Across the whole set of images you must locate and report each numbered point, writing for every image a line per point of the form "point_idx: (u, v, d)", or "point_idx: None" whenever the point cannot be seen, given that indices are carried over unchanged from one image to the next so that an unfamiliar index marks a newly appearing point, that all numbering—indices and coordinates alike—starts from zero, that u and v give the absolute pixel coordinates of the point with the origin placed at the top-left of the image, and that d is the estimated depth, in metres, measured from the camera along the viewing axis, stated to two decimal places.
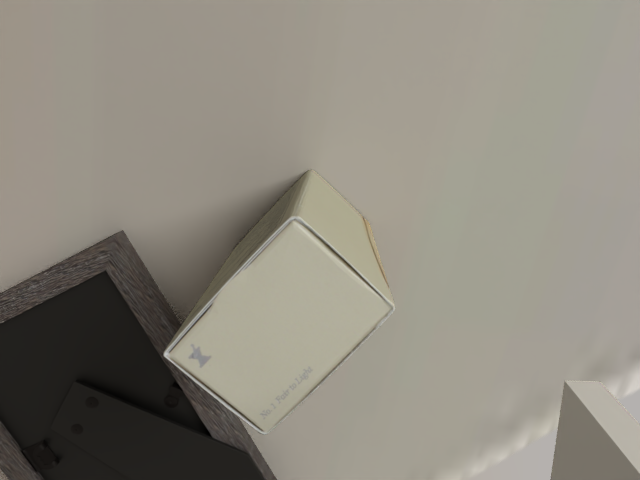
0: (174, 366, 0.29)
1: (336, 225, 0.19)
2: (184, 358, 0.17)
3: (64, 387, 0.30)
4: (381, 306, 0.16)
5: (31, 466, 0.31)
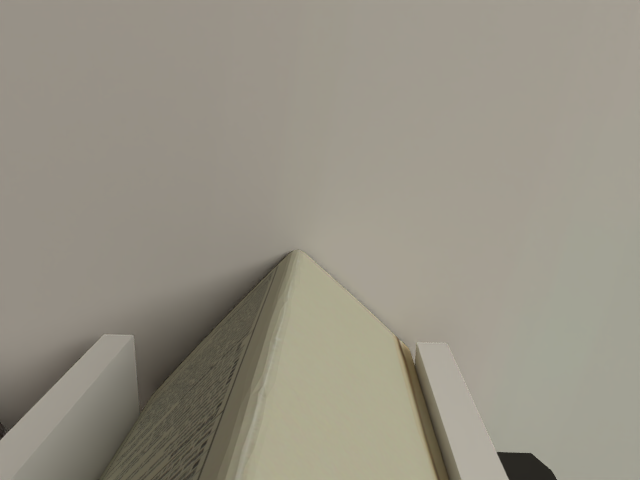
0: None
1: None
2: None
3: None
4: None
5: None
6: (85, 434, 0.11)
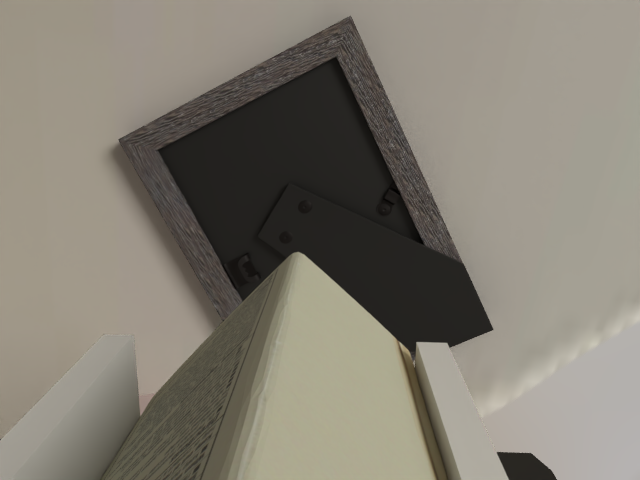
0: (395, 166, 0.28)
1: None
2: None
3: (274, 193, 0.29)
4: None
5: (231, 281, 0.30)
6: (85, 434, 0.11)
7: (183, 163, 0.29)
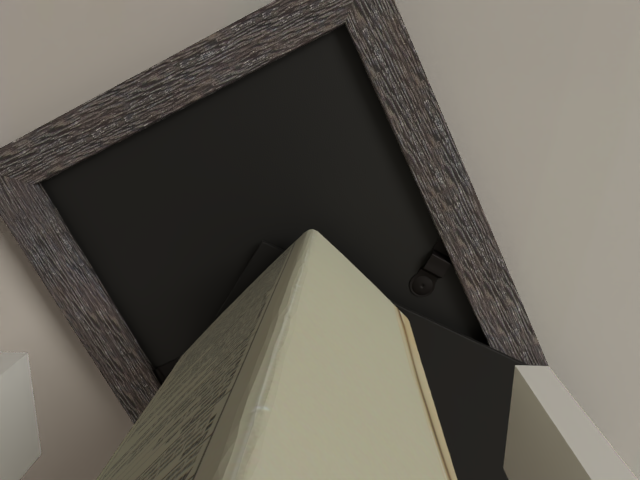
0: (445, 216, 0.16)
1: (358, 411, 0.08)
2: None
3: (238, 256, 0.17)
4: None
5: None
6: None
7: (83, 206, 0.17)
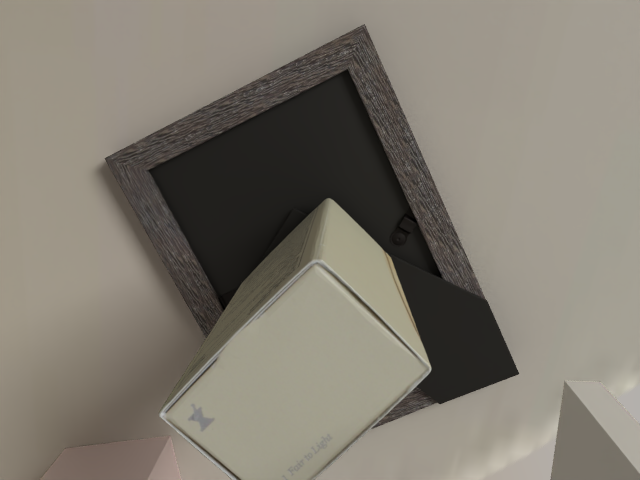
0: (412, 191, 0.25)
1: (360, 266, 0.17)
2: (182, 420, 0.14)
3: (277, 219, 0.26)
4: (415, 366, 0.14)
5: None
6: None
7: (176, 185, 0.26)
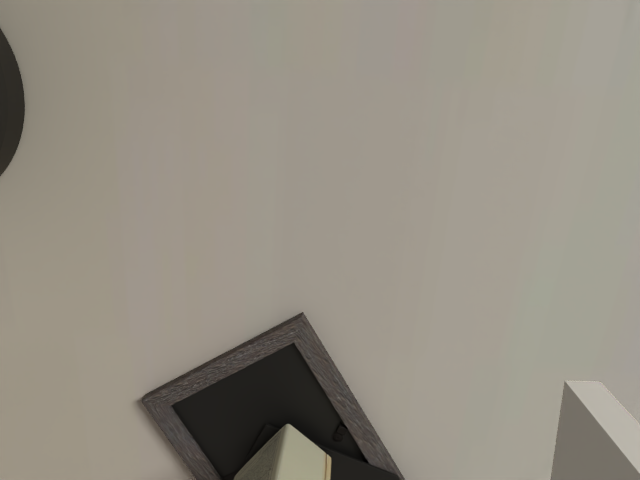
0: (342, 411, 0.38)
1: None
2: None
3: (256, 429, 0.40)
4: None
5: None
6: None
7: (188, 412, 0.39)
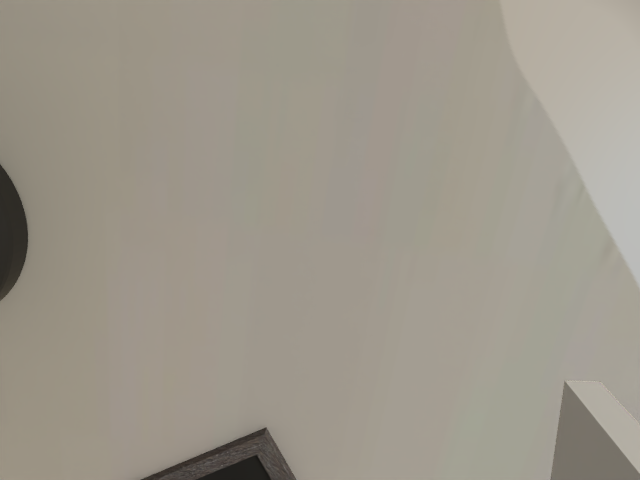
0: None
1: None
2: None
3: None
4: None
5: None
6: None
7: None
